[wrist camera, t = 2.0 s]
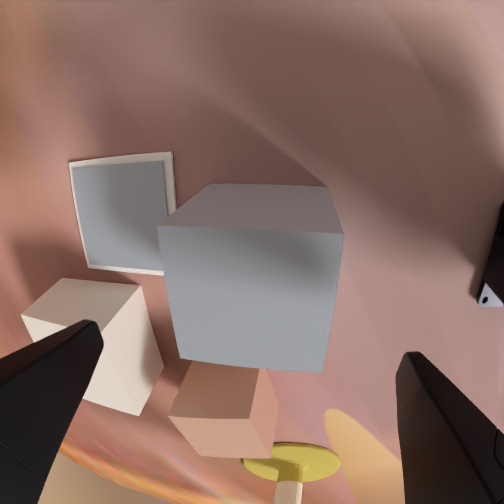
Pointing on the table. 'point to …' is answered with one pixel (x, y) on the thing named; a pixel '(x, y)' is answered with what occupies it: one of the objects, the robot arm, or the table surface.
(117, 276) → the table surface
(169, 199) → the tile
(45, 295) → the cream block
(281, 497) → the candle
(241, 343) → the grey block
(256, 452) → the terracotta block
